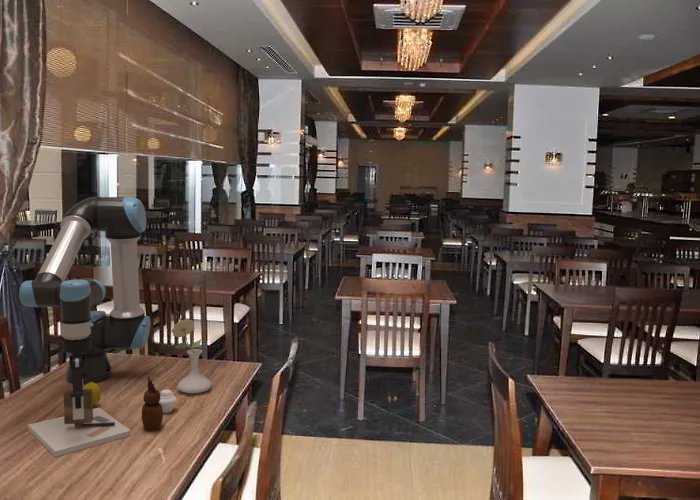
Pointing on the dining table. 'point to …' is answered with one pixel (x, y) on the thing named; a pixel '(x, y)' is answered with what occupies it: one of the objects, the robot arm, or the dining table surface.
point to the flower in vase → (194, 379)
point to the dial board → (77, 433)
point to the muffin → (167, 401)
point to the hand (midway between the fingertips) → (78, 409)
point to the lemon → (94, 391)
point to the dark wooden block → (87, 410)
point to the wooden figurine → (152, 408)
